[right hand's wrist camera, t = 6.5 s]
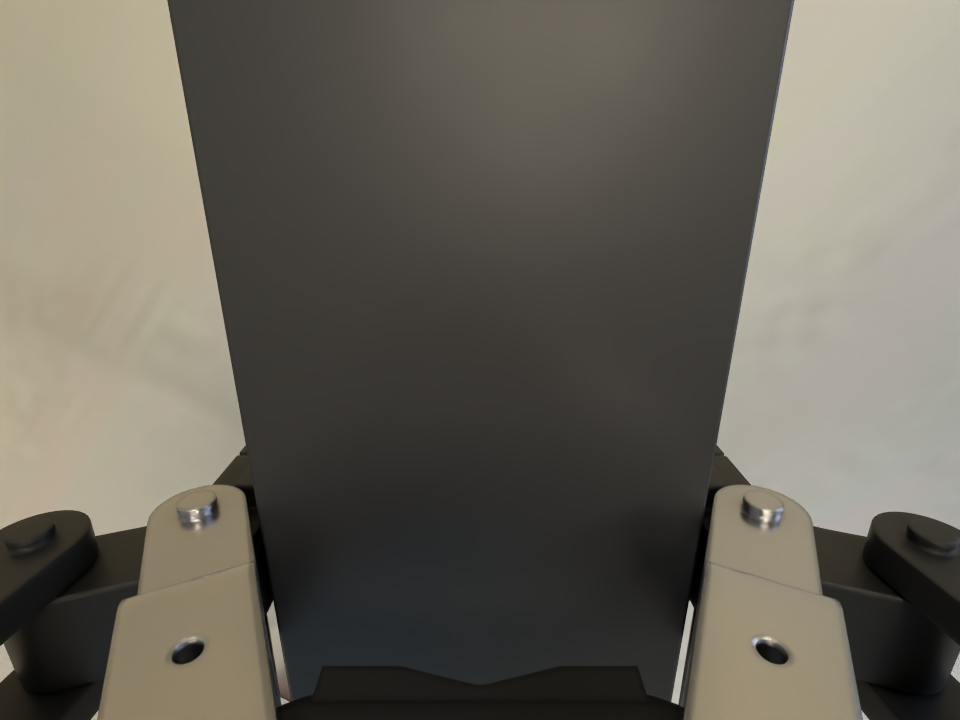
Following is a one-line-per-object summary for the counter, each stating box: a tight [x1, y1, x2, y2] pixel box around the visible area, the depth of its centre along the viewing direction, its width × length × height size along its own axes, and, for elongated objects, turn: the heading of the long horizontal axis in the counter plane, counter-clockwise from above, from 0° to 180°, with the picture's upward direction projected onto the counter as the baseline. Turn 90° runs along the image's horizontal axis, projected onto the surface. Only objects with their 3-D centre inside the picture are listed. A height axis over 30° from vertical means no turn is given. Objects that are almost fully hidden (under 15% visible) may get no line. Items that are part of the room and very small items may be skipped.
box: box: [168, 0, 794, 702], centre depth 11 cm, size 21×6×12 cm, turn 0°
